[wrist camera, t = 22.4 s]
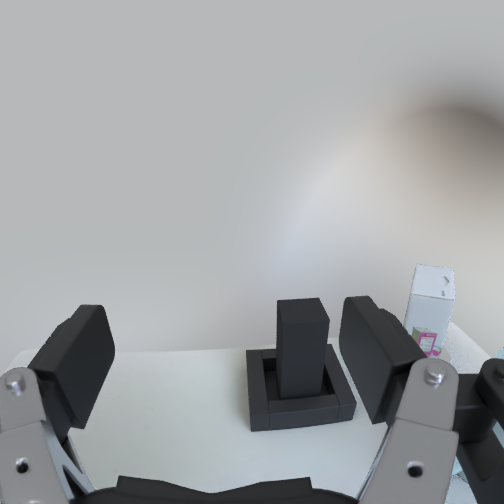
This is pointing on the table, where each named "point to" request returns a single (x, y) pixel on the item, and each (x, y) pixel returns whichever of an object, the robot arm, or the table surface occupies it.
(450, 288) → the ink box
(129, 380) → the table surface
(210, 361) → the table surface
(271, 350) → the base pad
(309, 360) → the block
